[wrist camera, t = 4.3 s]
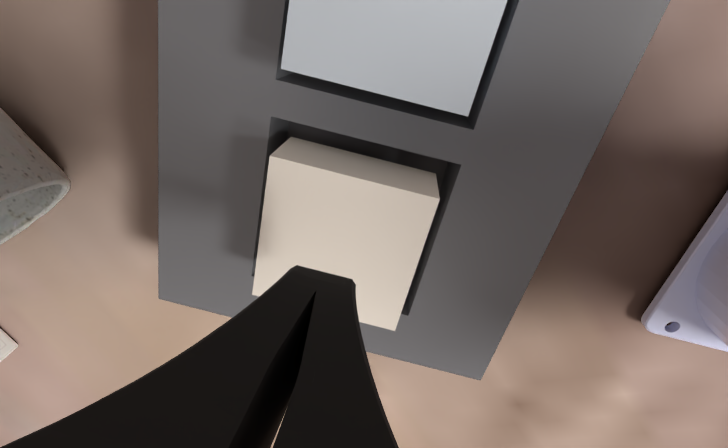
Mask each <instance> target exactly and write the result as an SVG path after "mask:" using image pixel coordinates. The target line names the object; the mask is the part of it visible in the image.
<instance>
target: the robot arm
mask: <svg viewBox="0 0 728 448" xmlns="http://www.w3.org/2000/svg"><path fill="white" fill-rule="evenodd" d="M641 322H642V324H643V325H644V326H645V328H646V329H647V330H648V331H650V332H652V333H655V334H659V335H663V336H667V337H671V338H675V339H679V340H683V341H687V342H691V343H694V344H698V345H702V346H706V347H710V348H714V349H718V350H722V351H726V352H728V191H727V192H726V194H725V195H724V196H723V198H722V199H721V201H720V202H719V204H718V205H717V207H716V208H715V210H714V211H713V213H712V214H711V216H710V217H709V218H708V220H707V221H706V223H705V224H704V226H703V227H702V229H701V230H700V232H699V233H698V235H697V236H696V238H695V239H694V240H693V242H692V243H691V245H690V246H689V248H688V249H687V251H686V252H685V254H684V255H683V257H682V258H681V259H680V261H679V262H678V264H677V265H676V267H675V268H674V270H673V271H672V273H671V274H670V276H669V277H668V279H667V280H666V281H665V283H664V284H663V286H662V287H661V289H660V290H659V292H658V293H657V295H656V296H655V298H654V299H653V301H652V302H651V303H650V305H649V306H648V308H647V309H646V311H645V312H644V314H643V315H642V318H641ZM670 322H673V323H672V324H670V325H667V324H668V323H670ZM666 325H667V326H666ZM287 406H288V407H287ZM286 409H287V410H286ZM285 411H286V412H285ZM284 414H285V415H284ZM283 416H284V418H283ZM282 418H283V421H282ZM281 421H282V424H281V427H280V429H279V432H278V435H277V438H276V440H275V443H274V446H273V448H399V447H398V445H397V442H396V440H395V438H394V435H393V433H392V430H391V428H390V425H389V423H388V420H387V417H386V415H385V412H384V409H383V406H382V403H381V401H380V398H379V395H378V392H377V389H376V385H375V382H374V379H373V376H372V373H371V369H370V366H369V362H368V359H367V355H366V350H365V346H364V342H363V338H362V334H361V329H360V324H359V318H358V312H357V304H356V284H355V283H354V281H353V279H350V278H346V277H342V276H338V275H334V274H330V273H326V272H322V271H318V270H314V269H310V268H306V267H303V266H299V265H296V266H294V267H292V268H290V269H289V270H288V271H287V272H286V273H285V274H284V275H283V276H282V277H281V278H280V279H279V280H278V281H277V282H276V283H275V284H273V285H272V286H271V287H270V288H269V289H268V290H266V291H265V292H264V293H263V294H262V295H261V296H259V297H258V298H257V299H256V300H254V301H253V302H252V303H251V304H249V305H248V306H247V307H246V308H244V309H243V310H242V311H241V312H239V313H238V314H237V315H235V316H234V317H233V318H232V319H230V320H229V321H228V322H226V323H225V324H223V325H222V326H220V327H219V328H218V329H216V330H215V331H213V332H212V333H210V334H209V335H208V336H206V337H205V338H203V339H202V340H200V341H199V342H198V343H196V344H195V345H193V346H192V347H190V348H189V349H187V350H185V351H184V352H182V353H181V354H179V355H178V356H176V357H175V358H173V359H171V360H170V361H168V362H166V363H165V364H163V365H161V366H160V367H158V368H156V369H155V370H153V371H151V372H150V373H148V374H146V375H144V376H143V377H141V378H139V379H138V380H136V381H134V382H132V383H130V384H128V385H127V386H125V387H123V388H121V389H119V390H117V391H115V392H113V393H112V394H110V395H108V396H106V397H104V398H102V399H100V400H98V401H97V402H95V403H93V404H91V405H89V406H87V407H85V408H83V409H81V410H79V411H77V412H75V413H73V414H71V415H69V416H67V417H65V418H63V419H61V420H59V421H57V422H55V423H53V424H51V425H49V426H47V427H44V428H42V429H40V430H38V431H35V432H33V433H31V434H29V435H27V436H24V437H22V438H20V439H18V440H16V441H13V442H11V443H9V444H7V445H4V446H2V447H0V448H270V447H271V445H272V442H273V440H274V437H275V435H276V433H277V430H278V428H279V426H280V423H281Z"/></svg>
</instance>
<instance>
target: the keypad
mask: <svg viewBox="0 0 728 448" xmlns="http://www.w3.org/2000/svg"><path fill="white" fill-rule="evenodd" d="M669 2H670V0H507V3H506V6H505V9H504V12H503V15H502V18H501V21H500V24H499V27H498V30H497V33H496V35H495V38H494V41H493V44H492V47H491V50H490V53H489V56H488V59H487V62H486V65H485V68H484V71H483V74H482V77H481V80H480V83H479V85H478V88H477V91H476V94H475V97H474V100H473V103H472V106H471V109H470V112H469V115H468V116H464V115H460V114H456V113H452V112H448V111H444V110H440V109H436V108H432V107H428V106H424V105H421V104H417V103H413V102H409V101H405V100H401V99H397V98H393V97H389V96H385V95H381V94H378V93H374V92H370V91H366V90H362V89H358V88H354V87H350V86H346V85H342V84H338V83H334V82H331V81H327V80H323V79H319V78H315V77H311V76H307V75H303V74H299V73H295V72H291V71H287V70H284V69H281V63H282V55H283V47H284V39H285V31H286V23H287V15H288V8H289V0H158V276H159V299H162V300H166V301H169V302H173V303H177V304H181V305H185V306H189V307H193V308H197V309H201V310H205V311H209V312H213V313H217V314H221V315H225V316H229V317H232V318H233V317H234V316H235V315H237V314H238V313H239V312H241V311H242V310H243V309H244V308H246V307H247V306H248V305H249V304H251V303H252V302H253V301H254V300H256V299H257V298H258V297H259V296H255V295H252V291H253V283H254V275H255V268H256V260H257V252H258V244H259V236H260V228H261V220H262V212H263V205H264V197H265V189H266V181H267V173H268V165H269V157H270V155H271V154H272V153H273V152H274V151H276V150H277V149H278V148H279V147H280V146H281V145H282V144H283V143H285V142H286V141H287V140H288V139H289V138H290V137H294V138H298V139H302V140H306V141H310V142H314V143H318V144H322V145H326V146H330V147H334V148H338V149H341V150H345V151H349V152H353V153H357V154H361V155H365V156H369V157H373V158H377V159H381V160H385V161H389V162H392V163H396V164H400V165H404V166H408V167H412V168H416V169H420V170H424V171H428V172H432V173H436V178H437V184H438V190H439V197H440V200H439V203H438V206H437V209H436V212H435V215H434V218H433V221H432V224H431V227H430V230H429V232H428V235H427V238H426V241H425V244H424V247H423V250H422V253H421V256H420V259H419V262H418V265H417V268H416V271H415V274H414V277H413V279H412V282H411V285H410V288H409V291H408V294H407V297H406V300H405V303H404V306H403V309H402V312H401V315H400V318H399V321H398V324H397V327H396V329H395V331H393V330H389V329H385V328H381V327H377V326H373V325H369V324H365V323H361V322H359V324H360V329H361V334H362V338H363V342H364V346H365V350H366V352H370V353H374V354H378V355H382V356H386V357H390V358H394V359H398V360H402V361H406V362H410V363H414V364H418V365H421V366H425V367H429V368H433V369H437V370H441V371H445V372H449V373H453V374H457V375H461V376H465V377H469V378H473V379H477V380H481V379H482V377H483V375H484V373H485V371H486V369H487V367H488V365H489V363H490V361H491V358H492V356H493V354H494V352H495V350H496V348H497V346H498V344H499V342H500V340H501V338H502V336H503V334H504V332H505V330H506V328H507V326H508V324H509V322H510V320H511V318H512V316H513V314H514V312H515V310H516V308H517V306H518V304H519V302H520V300H521V298H522V296H523V294H524V292H525V290H526V288H527V286H528V284H529V282H530V280H531V278H532V276H533V274H534V272H535V270H536V268H537V266H538V264H539V262H540V260H541V258H542V256H543V254H544V252H545V250H546V248H547V246H548V244H549V242H550V240H551V238H552V236H553V234H554V232H555V230H556V228H557V226H558V224H559V222H560V220H561V218H562V216H563V214H564V212H565V210H566V208H567V206H568V204H569V202H570V200H571V198H572V196H573V194H574V192H575V190H576V188H577V186H578V184H579V182H580V180H581V178H582V176H583V174H584V172H585V170H586V168H587V166H588V164H589V162H590V160H591V158H592V156H593V154H594V152H595V150H596V148H597V146H598V144H599V142H600V140H601V138H602V136H603V134H604V132H605V130H606V128H607V126H608V124H609V122H610V120H611V118H612V116H613V114H614V112H615V110H616V108H617V106H618V104H619V102H620V100H621V98H622V96H623V94H624V92H625V90H626V88H627V86H628V84H629V82H630V80H631V78H632V76H633V74H634V72H635V70H636V68H637V66H638V64H639V62H640V60H641V58H642V56H643V54H644V52H645V50H646V48H647V46H648V44H649V42H650V40H651V38H652V36H653V34H654V32H655V30H656V28H657V26H658V24H659V22H660V20H661V18H662V16H663V14H664V12H665V10H666V8H667V6H668V4H669Z"/></svg>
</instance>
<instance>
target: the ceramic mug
mask: <svg viewBox="0 0 728 448" xmlns="http://www.w3.org/2000/svg"><path fill="white" fill-rule="evenodd" d="M70 184H71V181H70V180H69V178H68V177H67V175H66V174H65V173H64V172H63V171H62V170H61V169H60V167H59V166H58V165H56V164H55V163H54V162H53V161H52V160H51V159H50V158H49V157H48V156H47V155H46V154H45V153H44V152H43V151H42V150H41V149H40V148H39V147H38V146H37V145H36V144H35V143H34V142H33V141H32V140H31V139H30V138H29V137H28V136H27V134H26V133H25V132H24V131H23V130H22V129H21V128H20V127H19V126H18V125H17V124H16V123H15V122H14V121H13V120H12V119H11V118H10V117H9V116H8V115H7V114H6V113H5V112H4V111H3V110H2V109H1V108H0V245H1V244H2V243H4V242H5V241H7V240H9V239H11V238H12V237H14V236H15V235H17V234H18V233H20V232H21V231H23V230H24V229H26V228H27V227H28V226H30V225H31V224H32V223H33V222H34V221H36V220H37V219H38V218H40V217H41V216H43V215H44V214H46V213H47V212H48V211H50V210H51V209H52V208H53V207H54V206H55V205H56V204H57V203H58V202H59V201H60V200H61V199H63V198H64V196H65V194H67V192H68V191H69V189H70Z"/></svg>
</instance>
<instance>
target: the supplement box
mask: <svg viewBox="0 0 728 448" xmlns="http://www.w3.org/2000/svg"><path fill="white" fill-rule="evenodd" d="M17 347H18V344H17V343H16V342H15V341H13V340H12V339H11V338H10V337H9V336H8V335H7V334H6V333H5V332H4V331H3V330H2V329H1V328H0V362H1V361H2V360H3V359H5V358H6V357H7V356H8V355H9V354H10V353H11V352H12V351H14V350H15V349H16V348H17Z"/></svg>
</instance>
